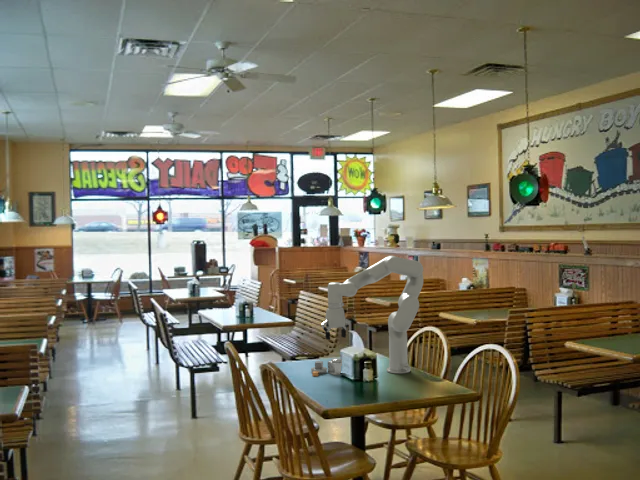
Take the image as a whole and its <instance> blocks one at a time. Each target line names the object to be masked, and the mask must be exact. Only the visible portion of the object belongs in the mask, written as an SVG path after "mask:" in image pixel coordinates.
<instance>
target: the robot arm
mask: <svg viewBox="0 0 640 480" xmlns="http://www.w3.org/2000/svg"><path fill="white" fill-rule="evenodd" d="M423 272H424V266H423V264H422V263H421V262H420V261H418V260H415V259H407V258H403V257H399V256H395V255H388V256H385V257H384V258H383V259H381V260H379V261H378V262H376V263H374V264H373V265H371V266H369V267H368V268H365V269H364V270H362V271H360V272H358V273H357V274H354V275H353V276H351V277H350V278H347V279H346V280H345V281H343V282H332V281H331V282H328V284H327V306H328V307H327V308H326V311H325V318H324V319H325V321H323V322H322V323H321V324H320V325H321V328H322V330H323V331H324V332H325V339H326V340H327V341H330V340H331V332H330V331H331V329H337V328H338V329H339V328H341V330H340V331H341V332H340V335H341V338H346V337H347V330H348V327H350V326H349V325H350V323H351V321H350V320H348V319H346V315H345V309H344V308H343V306H345V303H344V302H343V297H351V298H352V297H354V296H355V295H356V294H357V292H358V290H359V289H361V288H363V287H365V286H367V285H371V284H374V283H377V282H379V281H380V280H382V279H384V278H385V277H387V276H389V275H390V274H392V273H393V274H397V275H402V276H406V279H407V280H406V283H405V285H404V289H403V290H402V292H401V294H400V296H399V298H398V300H397V305H398V308H397V311H393V312H391V313H390V314H389V315H388V319H387V325H388V326H387V327H388V350H389V351H388V353H389V354H388V357H389V359H388V360H389V362H388V363H389V364H388V365H389V366H388V367H386V372H387V373H390V374H409V373H410V372H411V369H412V366H409V363H408V333H407V332H408V330H409V329H410V328H411V325H412V323H413V322H414V319H415V317H416V315H417V313H418V311H419V308H420V302H419V299H418V298H419V296H420V294H421V291H422V288H423V285H424V274H423Z"/></svg>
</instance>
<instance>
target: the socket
mask: <svg viewBox="0 0 640 480" xmlns="http://www.w3.org/2000/svg"><path fill="white" fill-rule="evenodd" d="M342 361H343V359H342V358H339V357H336V358H331V360H329V361H327V373H328V374H331V375H333V376H339V375H341V374H340V373H341V366H342Z"/></svg>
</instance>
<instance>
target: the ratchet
mask: <svg viewBox="0 0 640 480" xmlns="http://www.w3.org/2000/svg"><path fill="white" fill-rule="evenodd" d="M310 369H311V370H310V372H311V374H312V377H319V376H320V375H323V374H324V375H325V374H327V373H328V367H326V366H324V361H322V360H316V361H315V362H314V366H313V367H310Z"/></svg>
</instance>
